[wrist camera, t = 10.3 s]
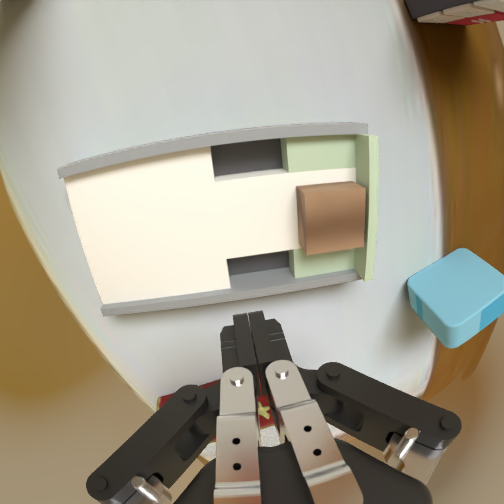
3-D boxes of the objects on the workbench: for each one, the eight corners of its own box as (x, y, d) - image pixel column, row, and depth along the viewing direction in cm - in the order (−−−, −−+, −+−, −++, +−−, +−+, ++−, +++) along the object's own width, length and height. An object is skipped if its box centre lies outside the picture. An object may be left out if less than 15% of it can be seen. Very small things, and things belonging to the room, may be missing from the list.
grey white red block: (412, 24, 24) (501, 3, 11) (400, -6, 22) (483, -38, 9) (467, 27, 24) (547, 20, 10) (457, 1, 22) (534, -14, 9)
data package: (406, 302, 41) (449, 353, 30) (402, 280, 39) (450, 330, 28) (463, 267, 40) (510, 307, 29) (462, 244, 38) (514, 282, 27)
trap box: (73, 162, 28) (47, 173, 22) (350, 122, 29) (377, 125, 24) (112, 297, 35) (98, 327, 29) (351, 262, 37) (371, 287, 31)
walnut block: (295, 186, 29) (304, 193, 26) (352, 180, 29) (365, 188, 26) (298, 242, 31) (306, 255, 29) (351, 235, 32) (363, 246, 29)
